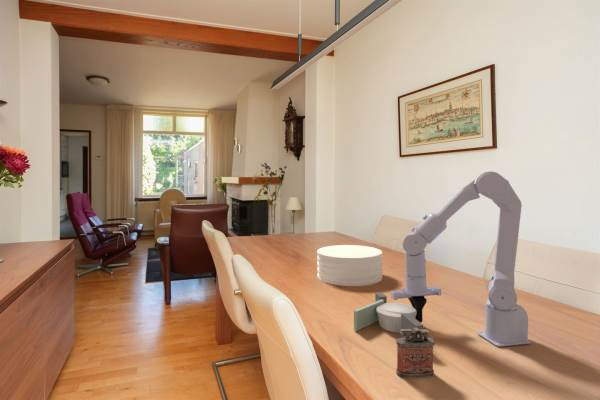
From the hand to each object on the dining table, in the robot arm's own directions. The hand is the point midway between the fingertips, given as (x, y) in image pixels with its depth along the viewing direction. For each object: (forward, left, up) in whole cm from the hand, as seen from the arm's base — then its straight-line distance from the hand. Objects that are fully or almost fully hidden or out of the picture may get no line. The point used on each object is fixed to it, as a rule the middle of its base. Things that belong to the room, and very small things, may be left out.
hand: (417, 321), depth 103 cm
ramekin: (+6, -1, -2) cm, 6 cm away
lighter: (+13, +23, -1) cm, 27 cm away
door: (+13, -4, -1) cm, 14 cm away
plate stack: (+3, -54, -2) cm, 54 cm away
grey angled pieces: (+7, +1, -1) cm, 7 cm away
